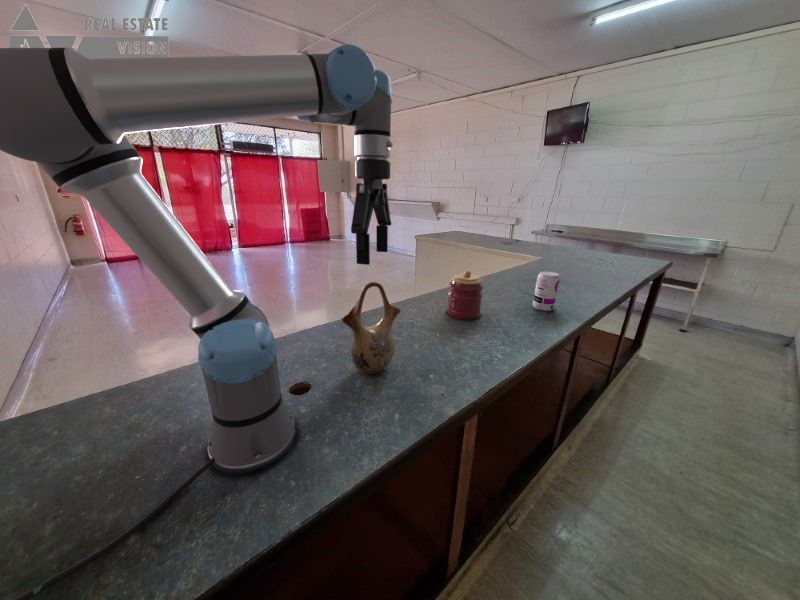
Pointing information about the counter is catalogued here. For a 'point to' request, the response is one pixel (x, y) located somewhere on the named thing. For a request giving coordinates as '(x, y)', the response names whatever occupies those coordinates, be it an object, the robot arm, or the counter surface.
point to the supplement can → (546, 290)
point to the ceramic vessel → (372, 335)
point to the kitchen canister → (465, 296)
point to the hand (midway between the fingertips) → (373, 257)
